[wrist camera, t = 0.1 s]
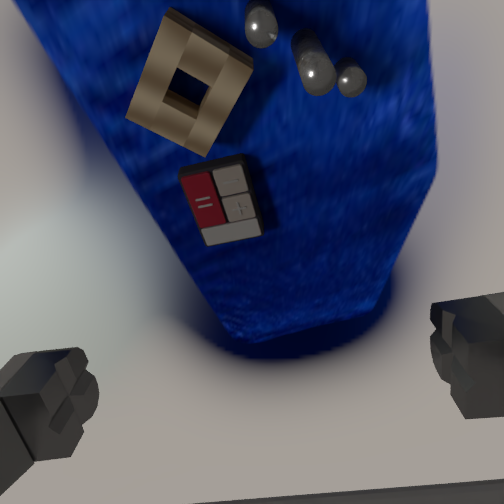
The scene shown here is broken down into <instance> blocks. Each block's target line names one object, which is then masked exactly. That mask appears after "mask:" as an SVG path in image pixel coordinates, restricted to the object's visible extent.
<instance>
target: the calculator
mask: <svg viewBox="0 0 504 504" xmlns="http://www.w3.org/2000/svg"><path fill="white" fill-rule="evenodd" d="M178 179H179V182H180V184H181V187H182V189H183V192H184V194H185V197H186V199H187V201H188V204H189V206H190V209H191V211H192V214H193V216H194V219H195V221H196V224H197V226H198V229H199V231H200V234H201V236H202V239H203V241H204V243H205V246H207V247H208V246H214V245H219V244H224V243H229V242H234V241H239V240H244V239H249V238H254V237H258V236H263V235H264V223H263V219H262V215H261V212H260V208H259V206H258V202H257V198H256V195H255V191H254V187H253V184H252V180H251V177H250V173H249V169H248V166H247V162H246V159H245V155H244V154H243V153H240V154H236V155H232V156H227V157H223V158H219V159H214V160H210V161H206V162H202V163H197V164H193V165H189V166H184V167H181V168H180V170H179V173H178Z"/></svg>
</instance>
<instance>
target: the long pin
mask: <svg viewBox="0 0 504 504" xmlns="http://www.w3.org/2000/svg"><path fill="white" fill-rule="evenodd" d="M291 50H292V53H293V56H294V59H295V62H296V65H297V68H298V71H299V74H300V77H301V80H302V83H303V86H304V88H305V90H306V91H307V92H308V93H309V94H311V95H314V96H321V95H324V94H326V93H328V92H329V91H330V90H331V89H332V88H333V87H334V85H335V82H336V78H337V74H336V70H335V68H334V66H333V64H332V63H331V61H330V59H329V57H328V55H327V54H326V52H325V50H324V48H323V46H322V44H321V43H320V41H319V39H318V37H317V35H316V34H315V32H314V31H312V30H311V29H308V28H303V29H300V30H298V31H297V32H296V33H295V34H294V35H293V37H292V39H291Z"/></svg>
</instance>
